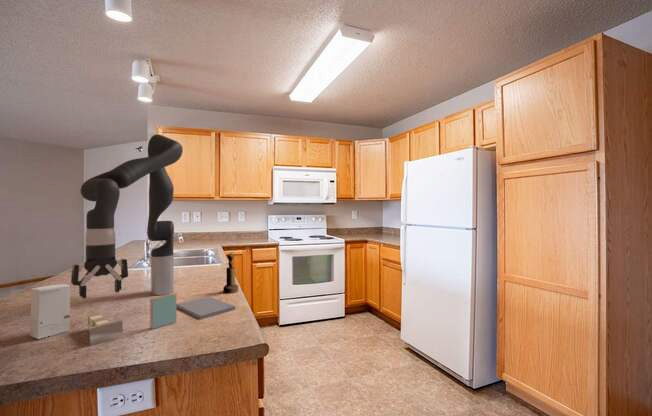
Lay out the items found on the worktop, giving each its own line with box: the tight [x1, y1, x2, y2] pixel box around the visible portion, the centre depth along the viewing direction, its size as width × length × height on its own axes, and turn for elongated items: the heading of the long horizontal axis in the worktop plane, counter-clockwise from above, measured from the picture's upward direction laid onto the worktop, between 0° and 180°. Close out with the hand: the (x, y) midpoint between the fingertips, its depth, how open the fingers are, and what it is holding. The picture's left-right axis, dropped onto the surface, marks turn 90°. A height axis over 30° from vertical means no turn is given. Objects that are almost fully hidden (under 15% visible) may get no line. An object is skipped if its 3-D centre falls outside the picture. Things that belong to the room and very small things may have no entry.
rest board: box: [176, 296, 236, 320], centre depth 122 cm, size 20×14×1 cm
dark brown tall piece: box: [223, 252, 239, 294], centre depth 146 cm, size 7×6×18 cm
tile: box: [149, 292, 177, 330], centre depth 105 cm, size 1×8×10 cm, turn 139°
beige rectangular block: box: [87, 313, 123, 346], centre depth 97 cm, size 15×8×5 cm, turn 49°
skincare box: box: [29, 283, 71, 340], centre depth 98 cm, size 8×6×15 cm
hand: (101, 294), depth 97 cm, fingers open, 8 cm apart
